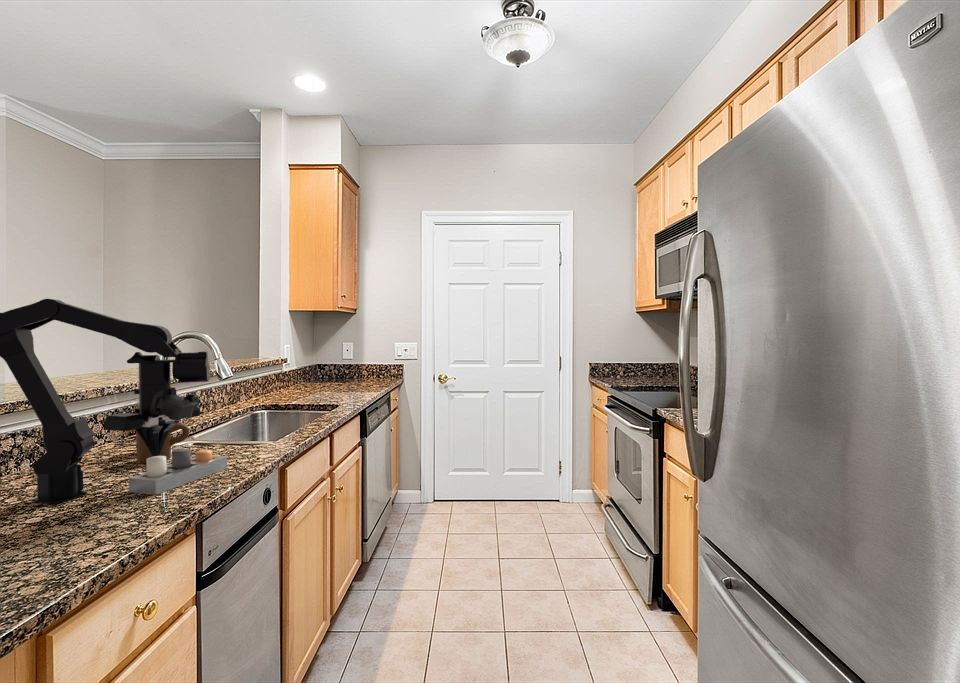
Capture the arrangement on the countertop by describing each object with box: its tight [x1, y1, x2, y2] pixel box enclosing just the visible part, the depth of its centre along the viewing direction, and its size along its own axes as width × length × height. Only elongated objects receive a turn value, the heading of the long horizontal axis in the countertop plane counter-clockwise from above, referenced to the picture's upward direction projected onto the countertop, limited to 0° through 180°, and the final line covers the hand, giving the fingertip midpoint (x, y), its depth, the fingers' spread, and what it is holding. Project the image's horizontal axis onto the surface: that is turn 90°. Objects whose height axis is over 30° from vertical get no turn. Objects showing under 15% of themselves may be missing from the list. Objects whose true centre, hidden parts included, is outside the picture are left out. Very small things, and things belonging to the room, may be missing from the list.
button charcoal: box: [171, 448, 192, 470], centre depth 113 cm, size 4×4×4 cm
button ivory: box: [146, 456, 168, 478], centre depth 107 cm, size 4×4×4 cm
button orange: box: [194, 449, 213, 462], centre depth 119 cm, size 4×4×4 cm
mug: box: [135, 423, 190, 464], centre depth 131 cm, size 12×8×9 cm, turn 112°
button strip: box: [128, 454, 228, 496], centre depth 113 cm, size 20×7×3 cm, turn 166°
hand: (155, 455), depth 107 cm, fingers closed
